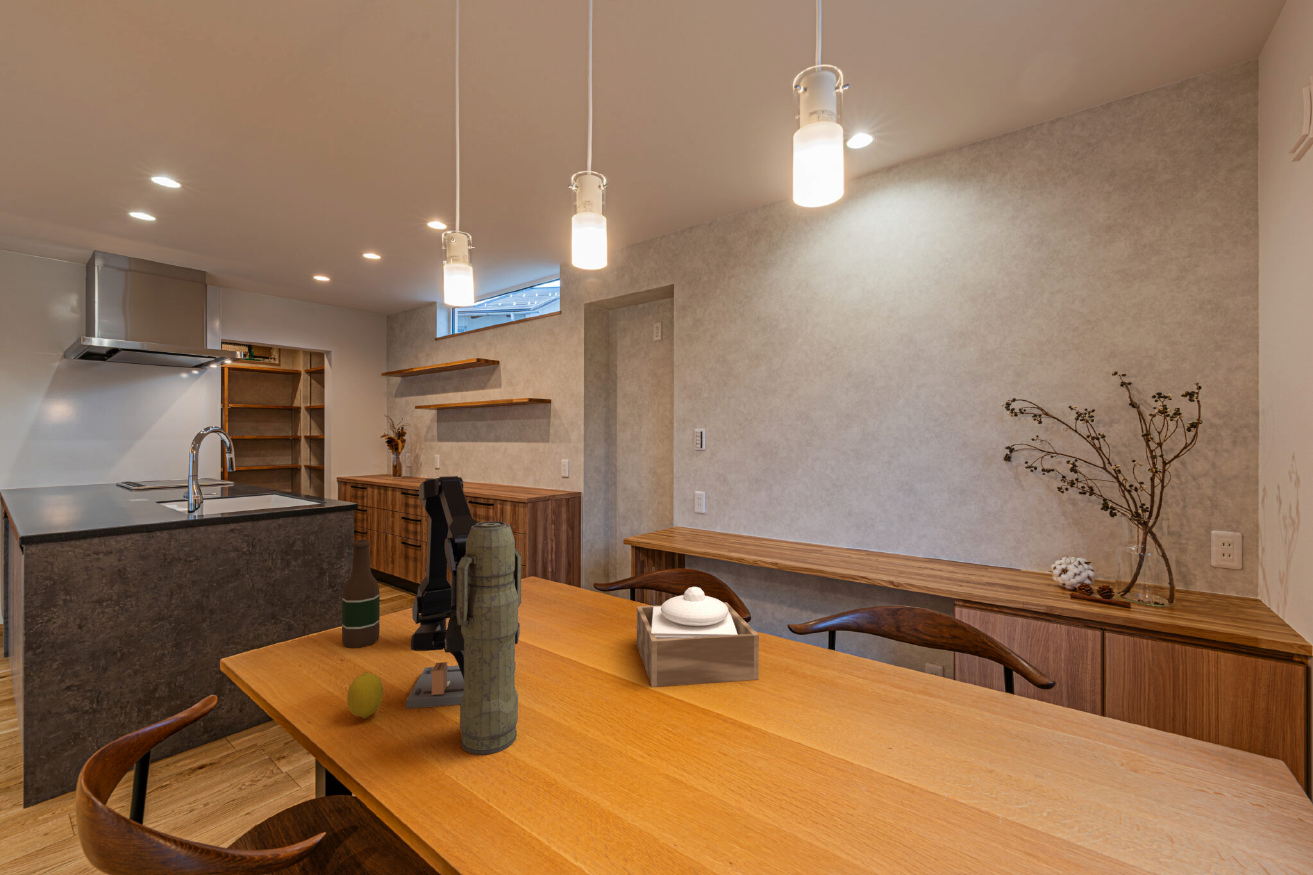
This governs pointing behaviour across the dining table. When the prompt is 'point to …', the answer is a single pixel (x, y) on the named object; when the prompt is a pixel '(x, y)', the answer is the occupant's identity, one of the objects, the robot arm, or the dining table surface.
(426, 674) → the console
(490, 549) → the thermos
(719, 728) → the dining table surface
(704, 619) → the butter dish
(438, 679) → the fader
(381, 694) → the lemon
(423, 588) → the robot arm
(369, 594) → the beer bottle
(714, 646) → the dish corral
